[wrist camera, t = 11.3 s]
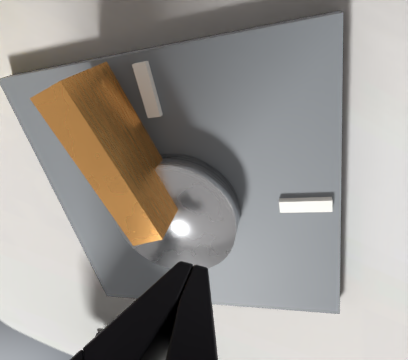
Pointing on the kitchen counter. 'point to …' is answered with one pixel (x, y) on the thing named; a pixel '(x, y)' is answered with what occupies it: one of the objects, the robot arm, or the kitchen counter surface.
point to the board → (225, 155)
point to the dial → (141, 173)
